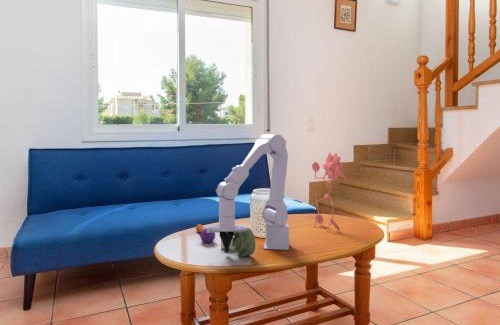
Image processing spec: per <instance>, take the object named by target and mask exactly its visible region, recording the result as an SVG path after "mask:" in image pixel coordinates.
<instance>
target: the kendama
mask: <svg viewBox="0 0 500 325" xmlns="http://www.w3.org/2000/svg"><path fill="white" fill-rule="evenodd" d="M195 230H196V231H197V232H199V233H200V234H199V235H200V240H201V241H202V242H203V243H206V244H210V243H212V242H213V241H215V239H216V232H210V233H207V227H205V228H204V226H203V225H202V224H200V223H199V224H197V225H196V226H195Z"/></svg>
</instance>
